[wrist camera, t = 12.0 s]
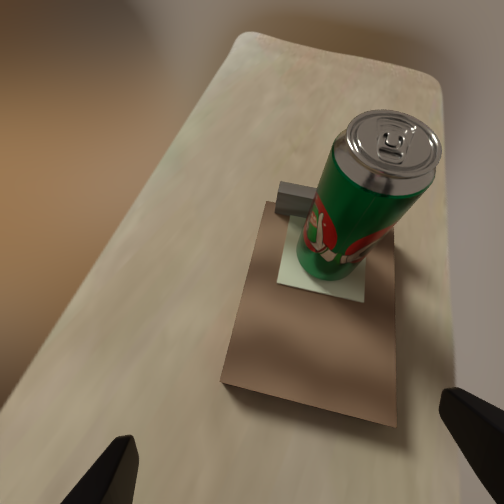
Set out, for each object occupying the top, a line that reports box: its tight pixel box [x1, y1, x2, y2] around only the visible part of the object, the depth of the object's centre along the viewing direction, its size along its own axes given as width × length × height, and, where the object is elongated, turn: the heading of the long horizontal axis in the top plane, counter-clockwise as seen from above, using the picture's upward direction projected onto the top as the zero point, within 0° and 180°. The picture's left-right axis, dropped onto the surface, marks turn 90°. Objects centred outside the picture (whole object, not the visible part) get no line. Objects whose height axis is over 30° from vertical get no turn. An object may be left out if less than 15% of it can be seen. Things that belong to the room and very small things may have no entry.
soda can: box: [296, 110, 442, 281], centre depth 18 cm, size 5×5×12 cm
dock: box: [220, 181, 397, 428], centre depth 21 cm, size 16×12×5 cm
